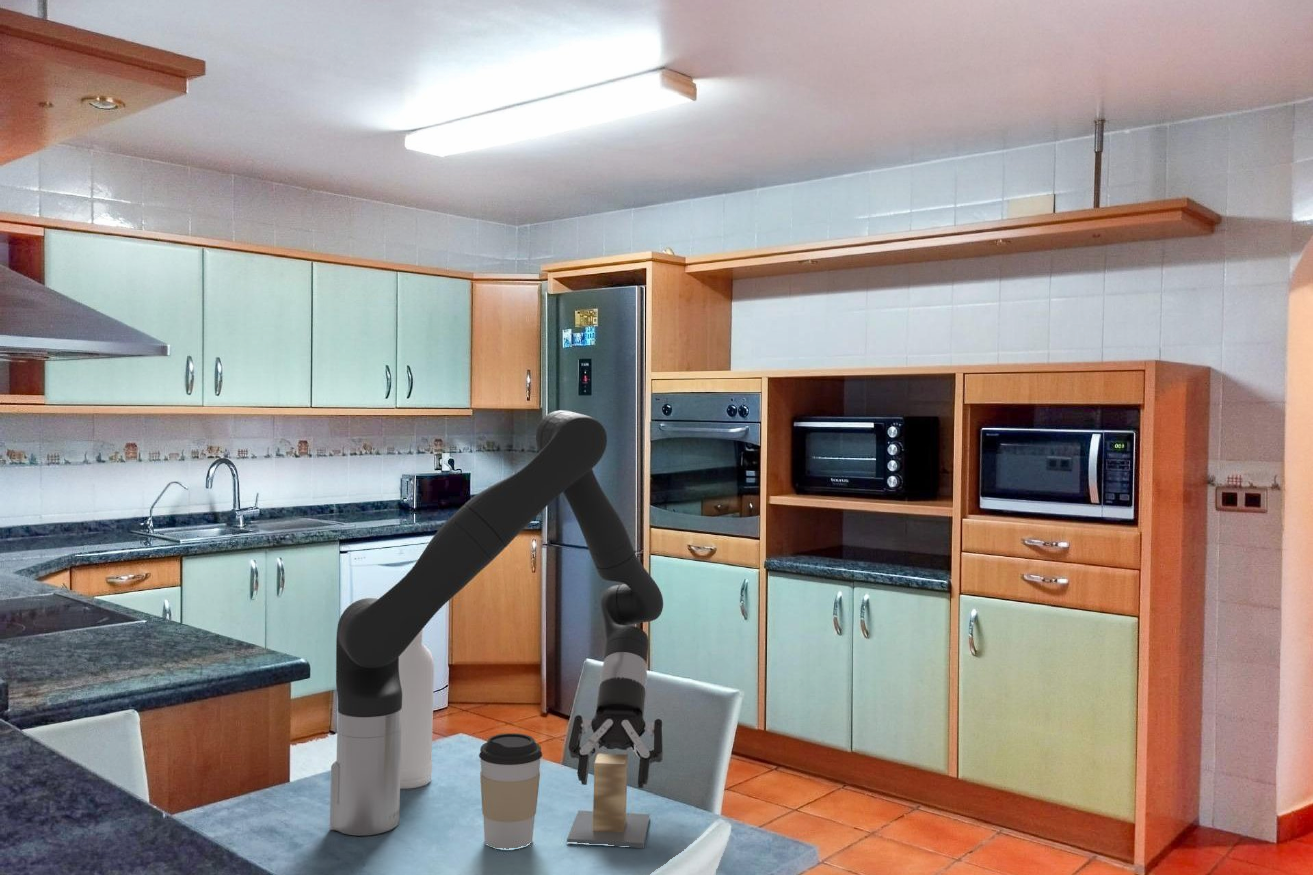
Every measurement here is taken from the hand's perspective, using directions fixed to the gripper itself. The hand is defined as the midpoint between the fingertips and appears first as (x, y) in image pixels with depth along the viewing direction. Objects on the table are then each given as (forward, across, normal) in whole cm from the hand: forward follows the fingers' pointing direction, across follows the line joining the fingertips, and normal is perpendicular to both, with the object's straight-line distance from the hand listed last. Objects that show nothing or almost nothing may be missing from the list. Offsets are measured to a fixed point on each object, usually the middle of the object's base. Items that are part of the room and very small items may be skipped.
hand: (612, 784), depth 152 cm
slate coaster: (+5, 0, +4) cm, 7 cm away
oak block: (+5, 0, +4) cm, 6 cm away
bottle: (-6, -36, +16) cm, 40 cm away
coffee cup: (+9, -14, +1) cm, 17 cm away
